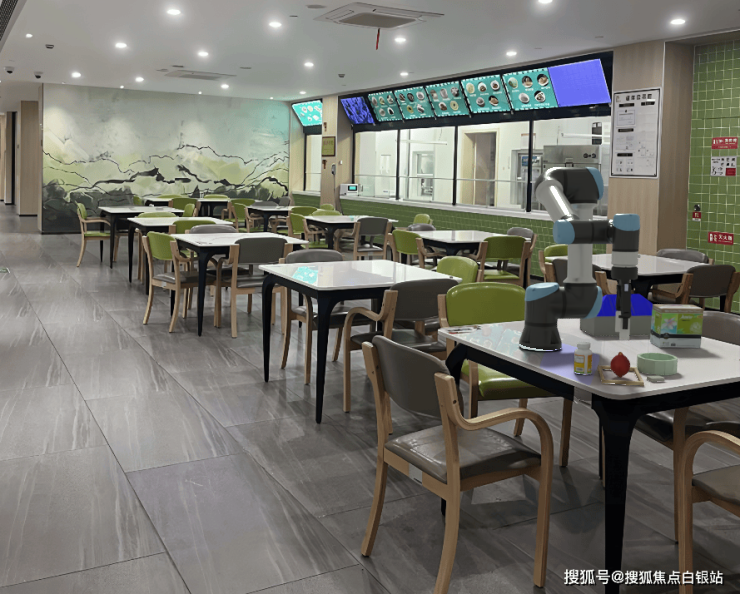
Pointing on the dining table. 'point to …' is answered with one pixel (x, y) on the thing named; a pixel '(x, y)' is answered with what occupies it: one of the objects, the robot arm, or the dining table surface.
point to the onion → (620, 365)
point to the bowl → (657, 363)
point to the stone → (655, 378)
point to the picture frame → (639, 382)
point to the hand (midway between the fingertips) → (621, 335)
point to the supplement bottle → (583, 358)
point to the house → (607, 317)
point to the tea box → (676, 326)
